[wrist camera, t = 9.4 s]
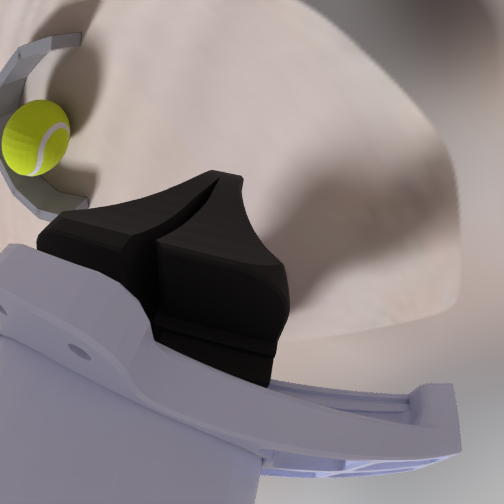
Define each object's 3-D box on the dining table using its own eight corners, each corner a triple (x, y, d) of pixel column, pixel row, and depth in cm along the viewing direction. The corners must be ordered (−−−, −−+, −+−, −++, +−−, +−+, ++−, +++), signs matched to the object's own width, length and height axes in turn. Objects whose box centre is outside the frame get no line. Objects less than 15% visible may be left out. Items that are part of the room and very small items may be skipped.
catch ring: (89, 207, 25) (69, 227, 22) (26, 193, 25) (7, 209, 23) (81, 32, 14) (52, 35, 11) (11, 53, 14) (-14, 61, 11)
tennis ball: (80, 165, 22) (33, 202, 17) (37, 145, 21) (-9, 176, 16) (90, 100, 18) (33, 125, 13) (42, 85, 17) (-12, 107, 12)
